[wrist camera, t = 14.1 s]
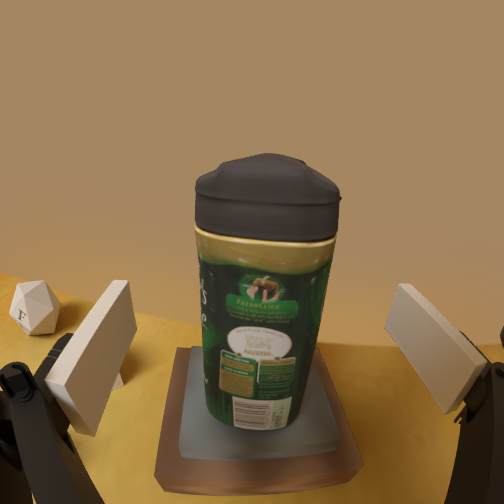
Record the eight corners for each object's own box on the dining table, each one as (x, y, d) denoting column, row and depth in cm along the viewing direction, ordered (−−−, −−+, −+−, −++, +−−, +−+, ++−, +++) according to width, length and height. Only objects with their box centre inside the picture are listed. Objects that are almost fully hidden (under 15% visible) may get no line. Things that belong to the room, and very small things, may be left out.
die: (18, 327, 33) (-8, 305, 25) (40, 287, 38) (21, 259, 30) (52, 353, 33) (28, 336, 26) (74, 309, 39) (58, 284, 31)
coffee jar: (221, 350, 27) (224, 150, 20) (301, 359, 26) (330, 158, 19) (193, 426, 18) (171, 152, 11) (299, 441, 17) (362, 164, 10)
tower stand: (311, 370, 32) (321, 333, 30) (348, 481, 17) (372, 453, 15) (180, 371, 31) (175, 333, 29) (164, 491, 16) (148, 465, 14)
